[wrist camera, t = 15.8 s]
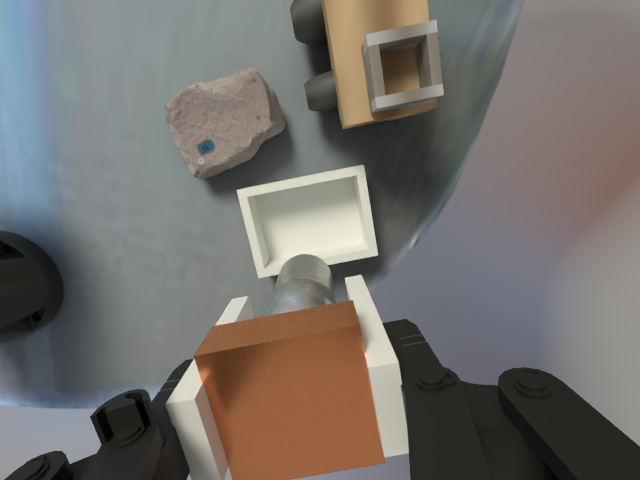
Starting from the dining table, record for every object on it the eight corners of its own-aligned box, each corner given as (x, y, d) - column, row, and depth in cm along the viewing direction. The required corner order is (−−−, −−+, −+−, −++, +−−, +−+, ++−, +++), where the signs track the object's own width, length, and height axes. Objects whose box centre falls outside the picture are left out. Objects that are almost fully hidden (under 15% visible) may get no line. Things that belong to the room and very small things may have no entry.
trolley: (314, 141, 41) (314, 128, 28) (289, 10, 37) (276, -75, 24) (407, 122, 40) (451, 100, 27) (390, -11, 37) (431, -109, 24)
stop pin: (277, 319, 20) (235, 489, 9) (261, 251, 19) (193, 355, 8) (347, 306, 19) (385, 463, 9) (334, 237, 19) (360, 324, 8)
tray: (264, 266, 44) (258, 278, 39) (245, 187, 42) (236, 190, 37) (371, 245, 44) (378, 255, 39) (358, 165, 41) (363, 164, 37)
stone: (202, 182, 42) (185, 184, 36) (167, 111, 40) (143, 101, 34) (295, 141, 41) (293, 136, 35) (264, 67, 39) (256, 49, 33)
